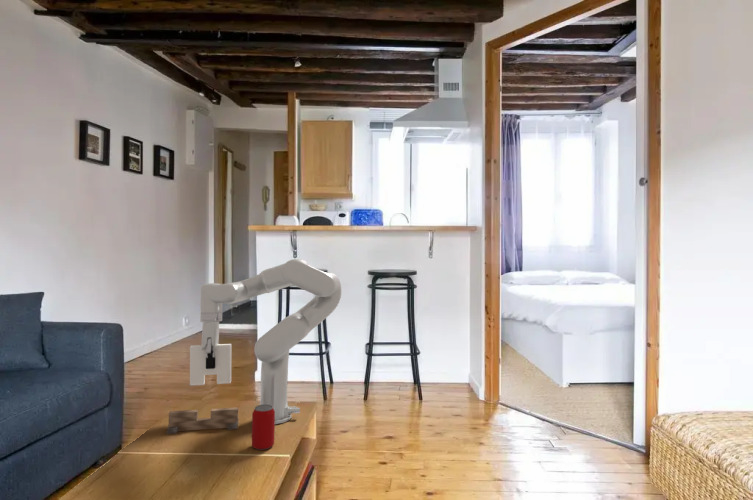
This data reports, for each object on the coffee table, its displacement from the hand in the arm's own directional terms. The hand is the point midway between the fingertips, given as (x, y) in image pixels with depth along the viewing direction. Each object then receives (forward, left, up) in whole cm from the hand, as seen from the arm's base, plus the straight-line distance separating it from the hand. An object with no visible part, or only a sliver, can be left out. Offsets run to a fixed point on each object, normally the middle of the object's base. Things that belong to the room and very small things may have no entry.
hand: (211, 367), depth 162 cm
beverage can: (-20, +30, -18) cm, 40 cm away
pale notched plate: (0, 0, -6) cm, 6 cm away
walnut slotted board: (0, +11, -18) cm, 21 cm away
